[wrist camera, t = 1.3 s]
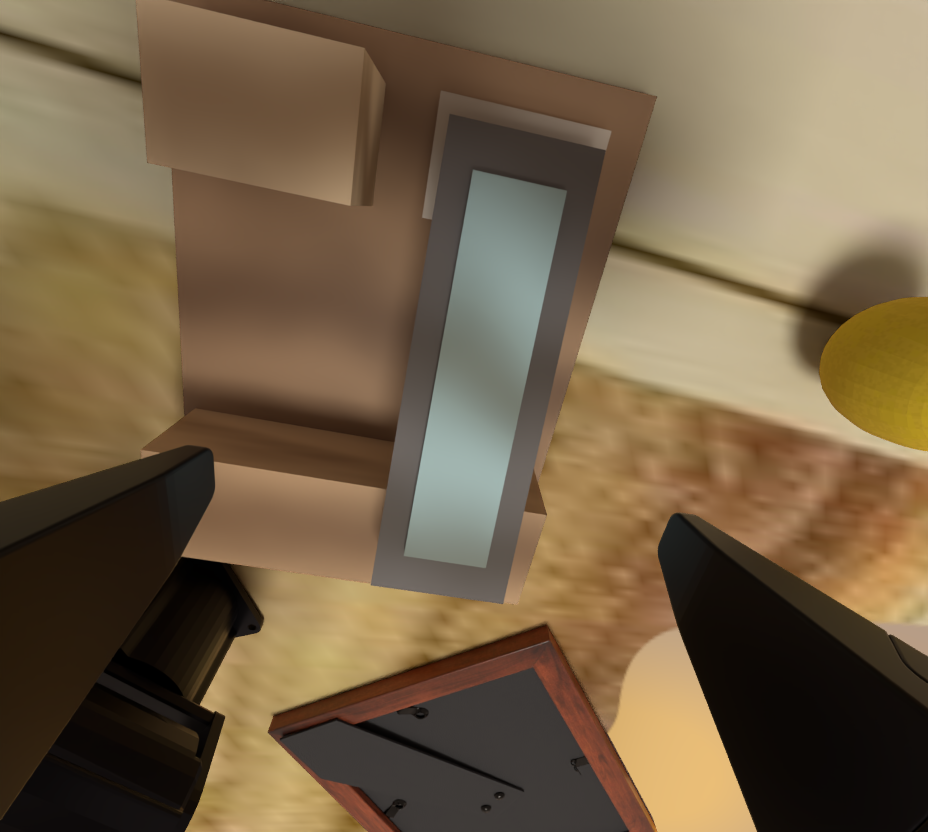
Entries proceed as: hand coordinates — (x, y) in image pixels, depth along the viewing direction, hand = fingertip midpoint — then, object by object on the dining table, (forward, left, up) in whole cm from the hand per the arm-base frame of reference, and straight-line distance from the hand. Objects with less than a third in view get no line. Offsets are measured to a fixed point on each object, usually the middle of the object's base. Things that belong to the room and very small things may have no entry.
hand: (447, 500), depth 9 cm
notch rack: (+1, +3, -13) cm, 13 cm away
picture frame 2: (-33, +7, -14) cm, 37 cm away
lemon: (-5, -17, -13) cm, 22 cm away
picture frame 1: (-1, -1, -9) cm, 9 cm away
